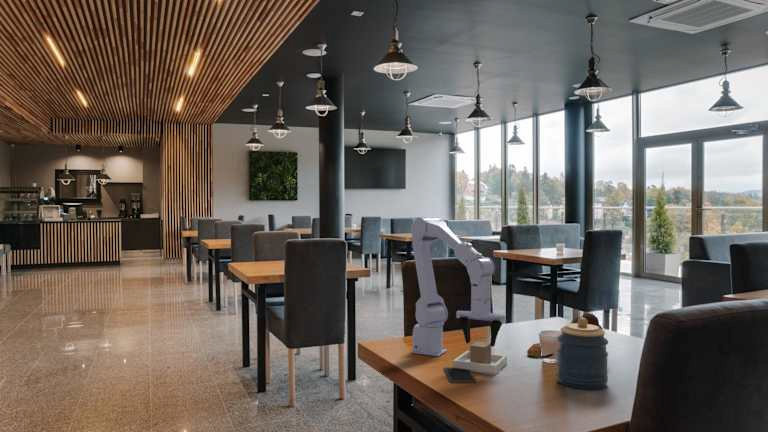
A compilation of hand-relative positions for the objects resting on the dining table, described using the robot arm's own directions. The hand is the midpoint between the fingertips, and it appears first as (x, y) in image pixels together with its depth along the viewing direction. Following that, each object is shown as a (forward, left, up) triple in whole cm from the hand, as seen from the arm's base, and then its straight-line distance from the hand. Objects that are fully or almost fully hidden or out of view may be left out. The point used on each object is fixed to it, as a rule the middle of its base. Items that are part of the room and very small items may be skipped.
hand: (480, 344), depth 164 cm
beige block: (0, 0, -6) cm, 6 cm away
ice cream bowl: (+27, +21, -7) cm, 35 cm away
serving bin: (0, 0, -7) cm, 7 cm away
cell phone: (-2, -11, -7) cm, 14 cm away
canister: (+29, -2, -7) cm, 30 cm away
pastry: (+13, +23, -7) cm, 27 cm away
